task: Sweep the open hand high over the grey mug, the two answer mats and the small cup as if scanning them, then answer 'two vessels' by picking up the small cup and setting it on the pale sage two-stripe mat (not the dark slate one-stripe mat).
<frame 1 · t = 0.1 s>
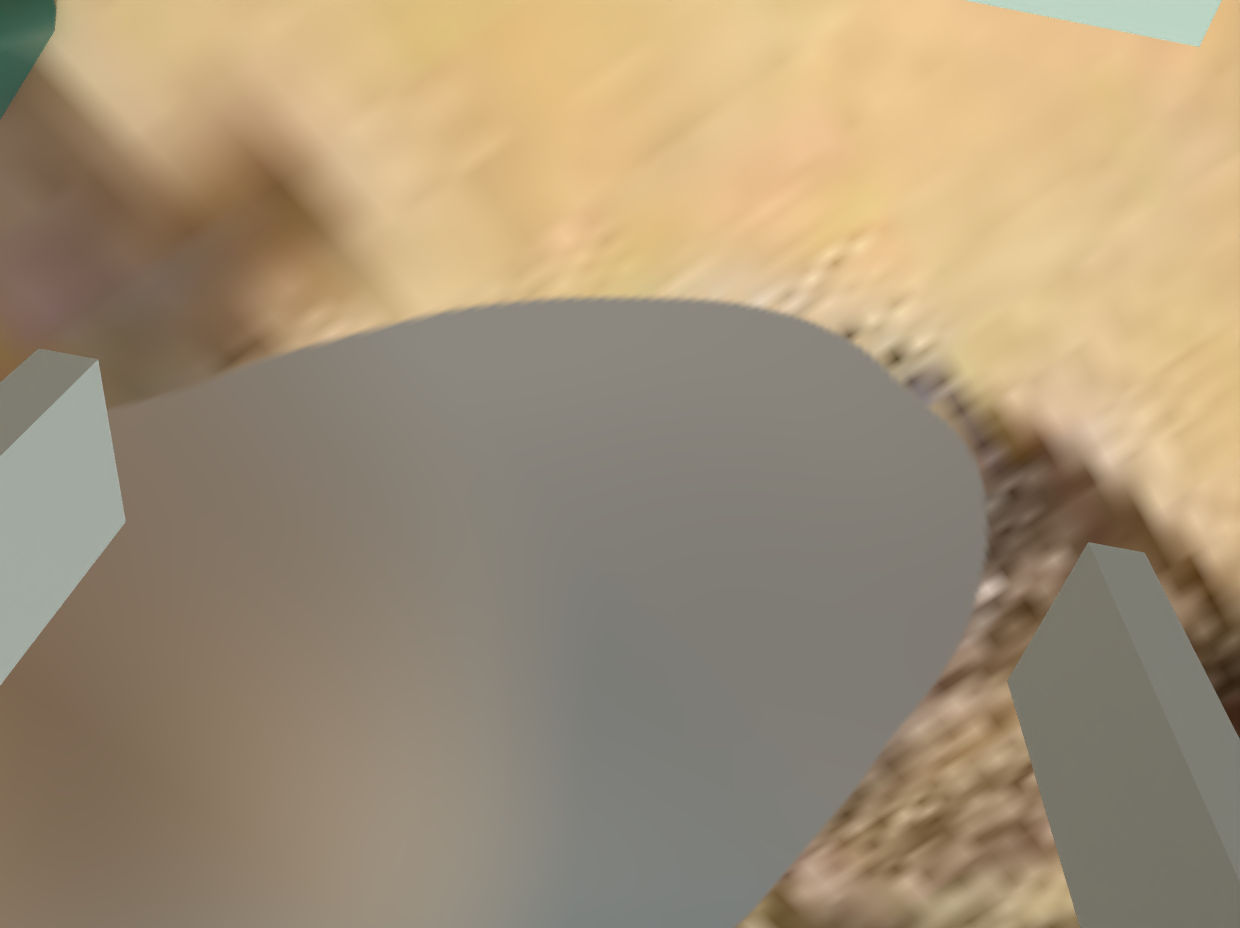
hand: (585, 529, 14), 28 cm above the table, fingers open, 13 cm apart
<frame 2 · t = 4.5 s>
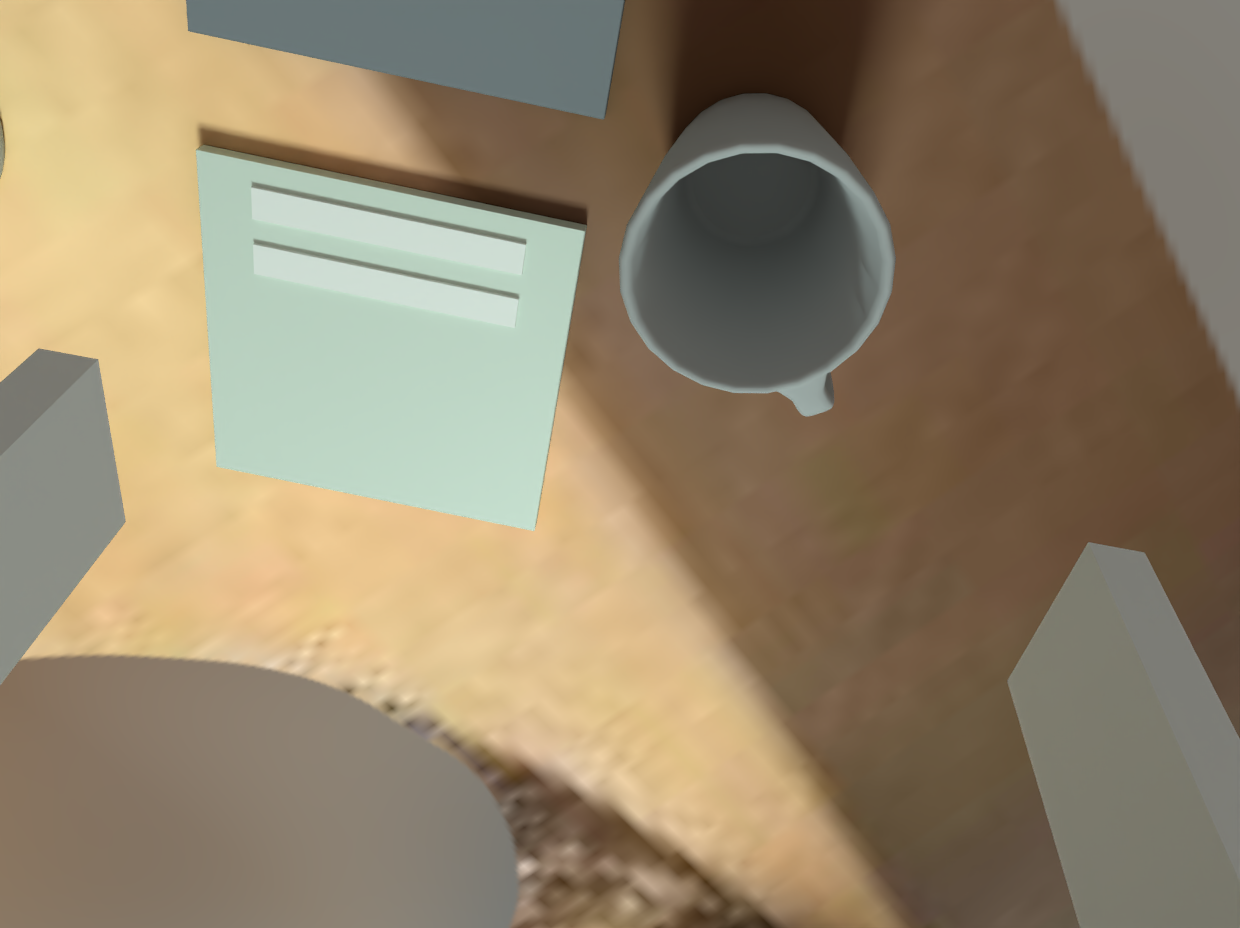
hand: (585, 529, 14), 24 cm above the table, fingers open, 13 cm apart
pad green: (387, 353, 40), on the table
cup: (763, 204, 36), on the table
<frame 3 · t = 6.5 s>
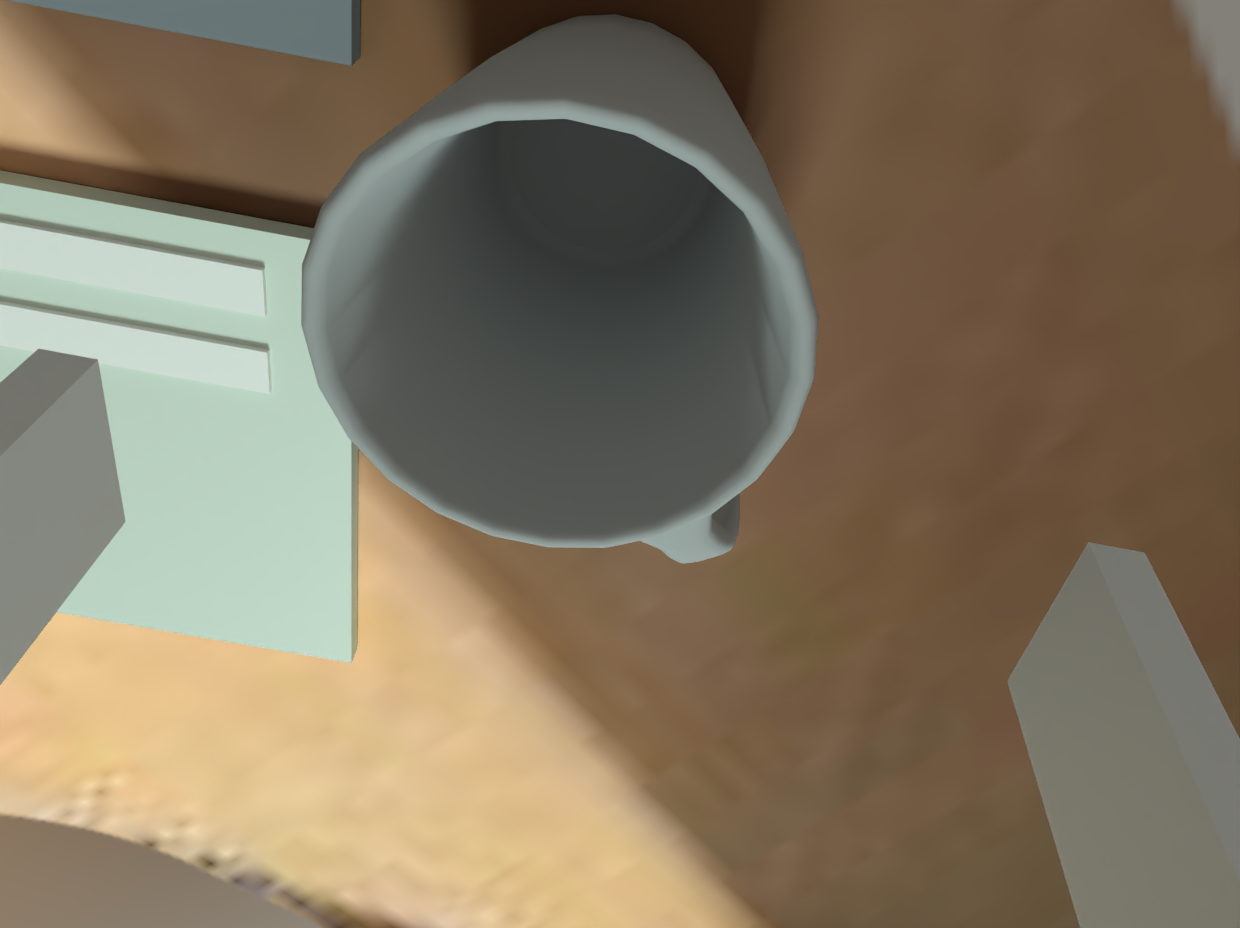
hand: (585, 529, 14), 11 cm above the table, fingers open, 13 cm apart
pad green: (99, 428, 27), on the table
cup: (631, 198, 22), on the table
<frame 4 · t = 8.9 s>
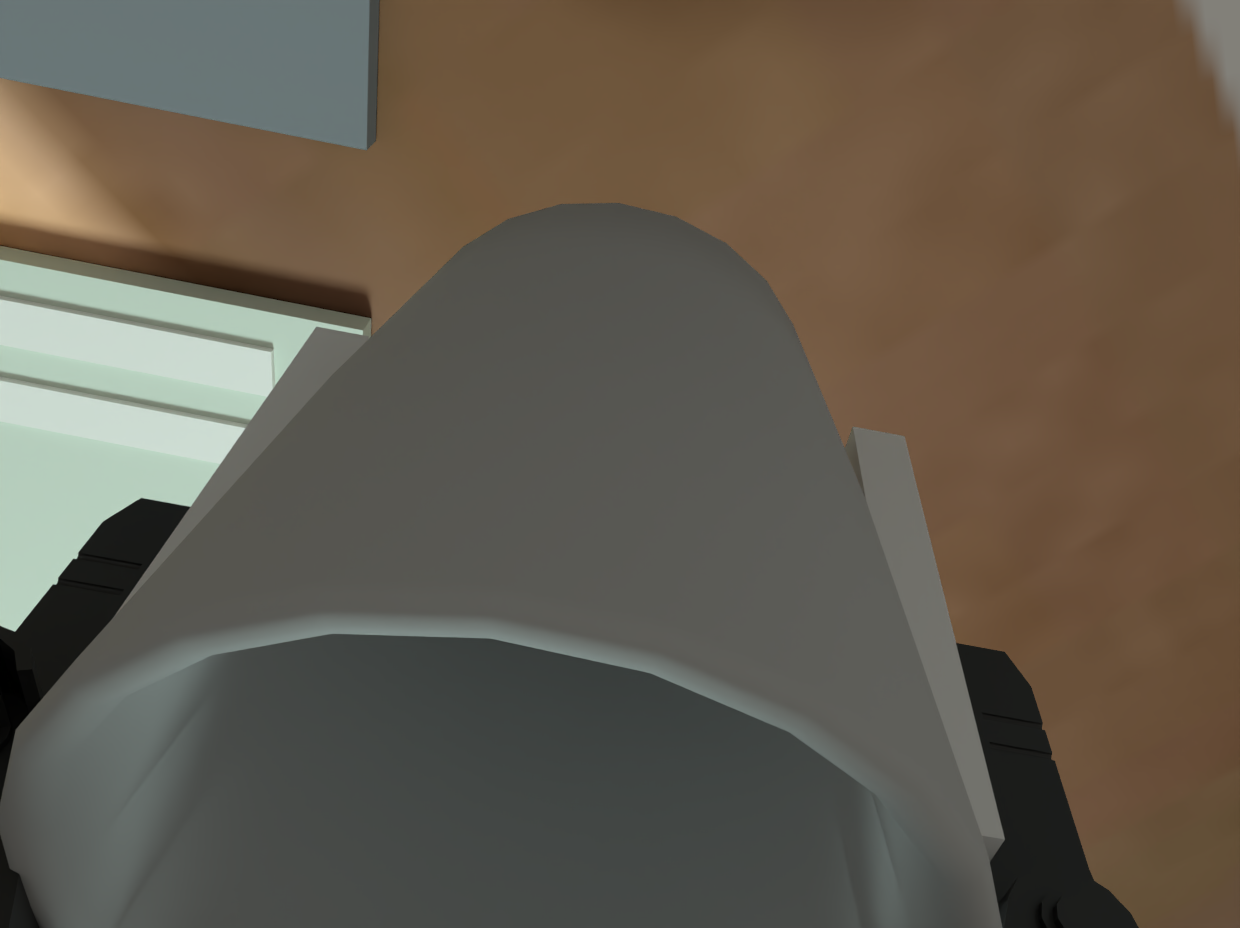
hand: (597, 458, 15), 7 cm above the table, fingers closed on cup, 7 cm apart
pad green: (102, 504, 26), on the table
cup: (641, 439, 15), point 7 cm above the table, touching gripper
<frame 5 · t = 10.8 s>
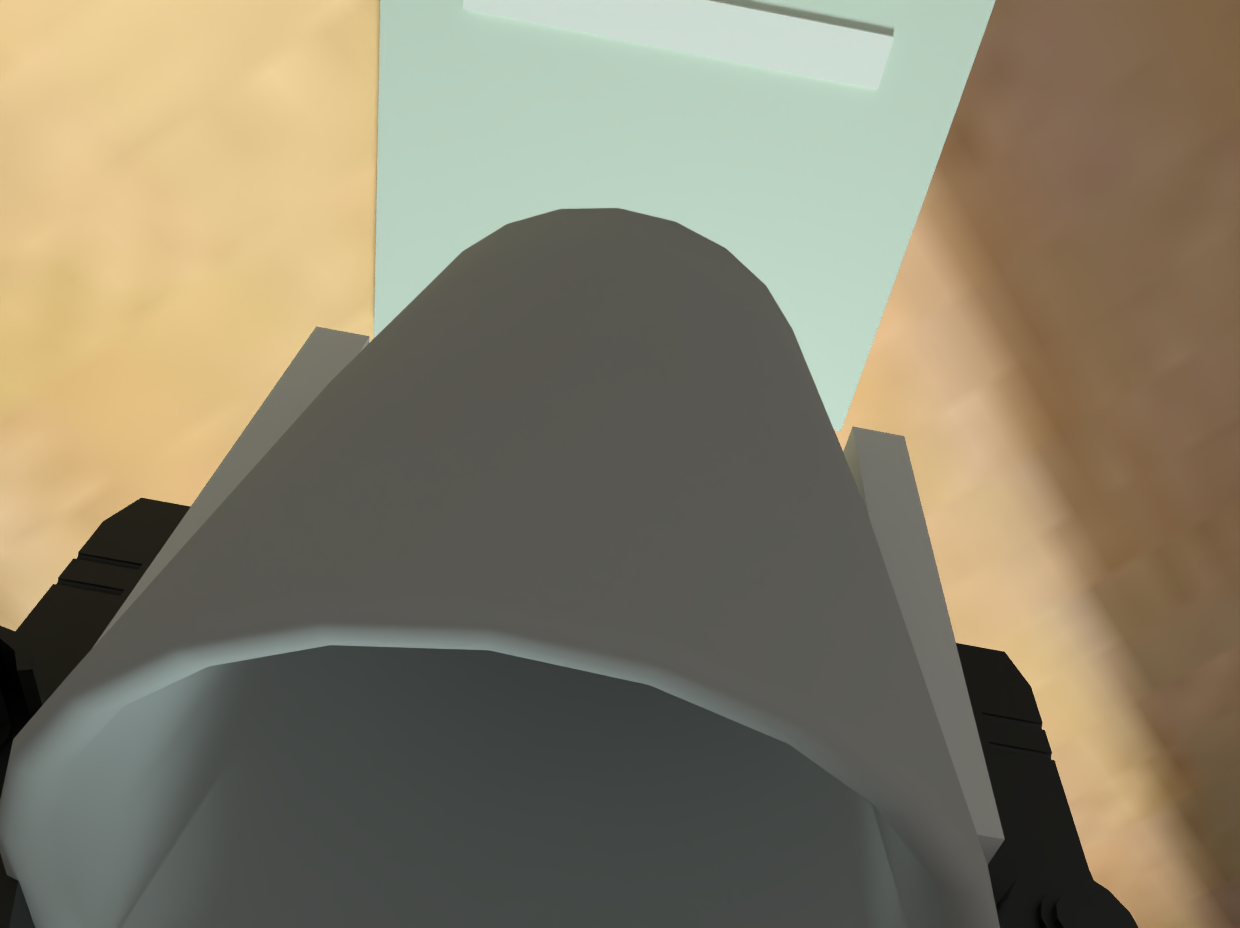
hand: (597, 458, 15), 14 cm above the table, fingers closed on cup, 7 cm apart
pad green: (652, 149, 26), on the table
cup: (640, 444, 15), point 13 cm above the table, touching gripper
when the fingers open (1 cm above the table, at t = 13.2 s): cup stays where it is, resting on pad green.
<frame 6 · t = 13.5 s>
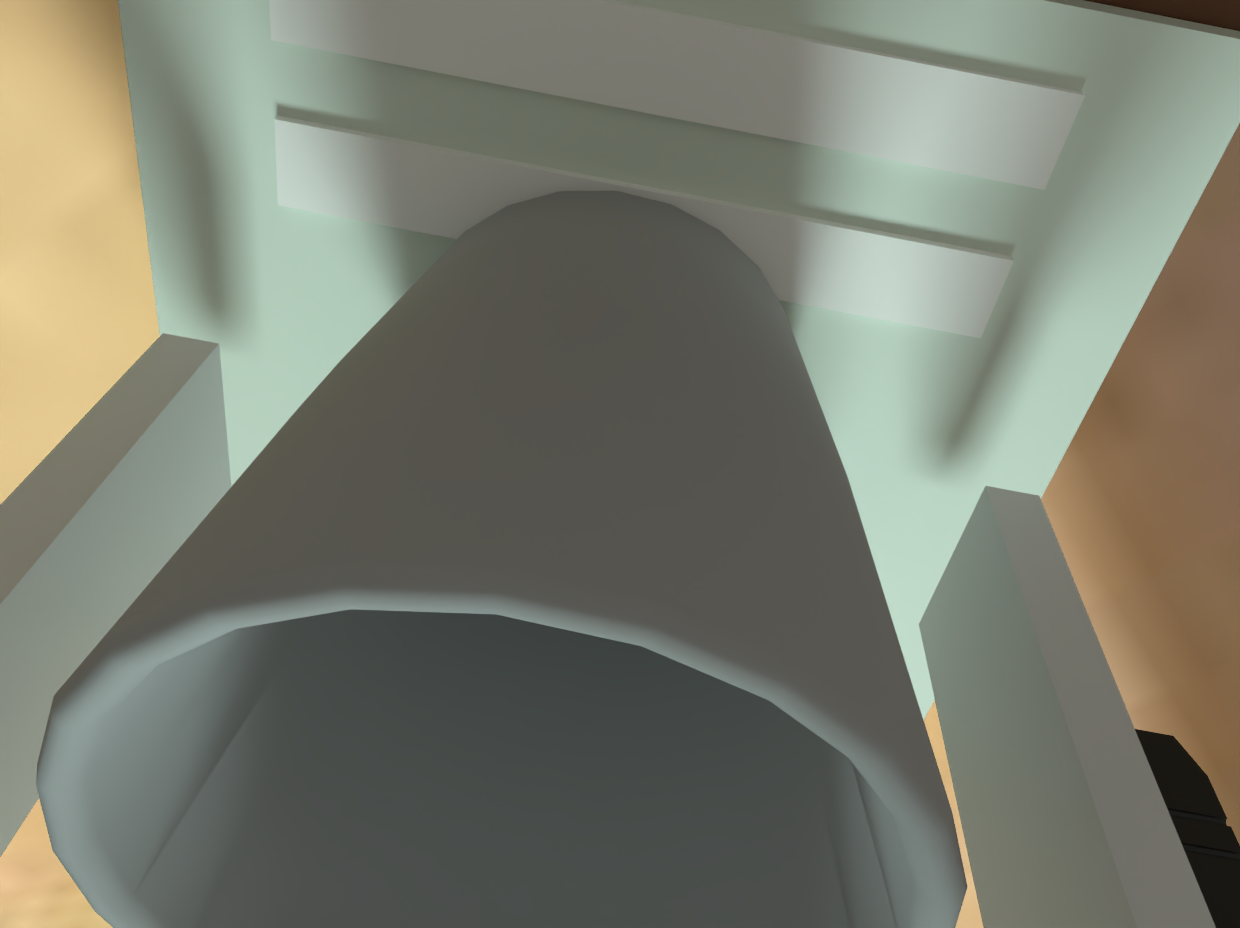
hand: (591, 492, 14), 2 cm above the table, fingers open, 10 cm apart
pad green: (607, 403, 16), on the table
cup: (636, 418, 16), resting on pad green
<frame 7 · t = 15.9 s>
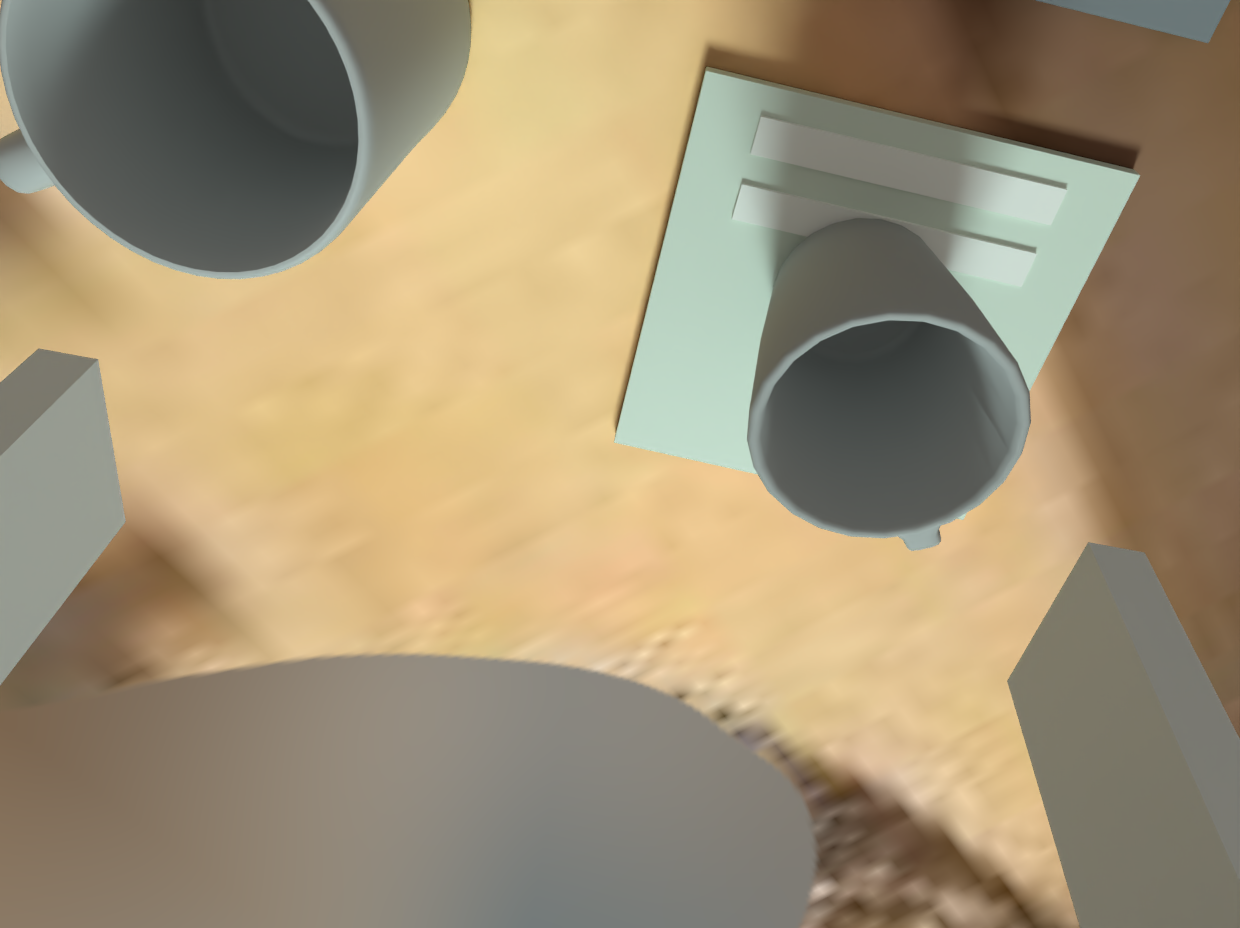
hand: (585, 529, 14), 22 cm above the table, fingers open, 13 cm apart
pad green: (848, 315, 36), on the table
mug: (294, 33, 32), on the table
cup: (864, 321, 35), resting on pad green
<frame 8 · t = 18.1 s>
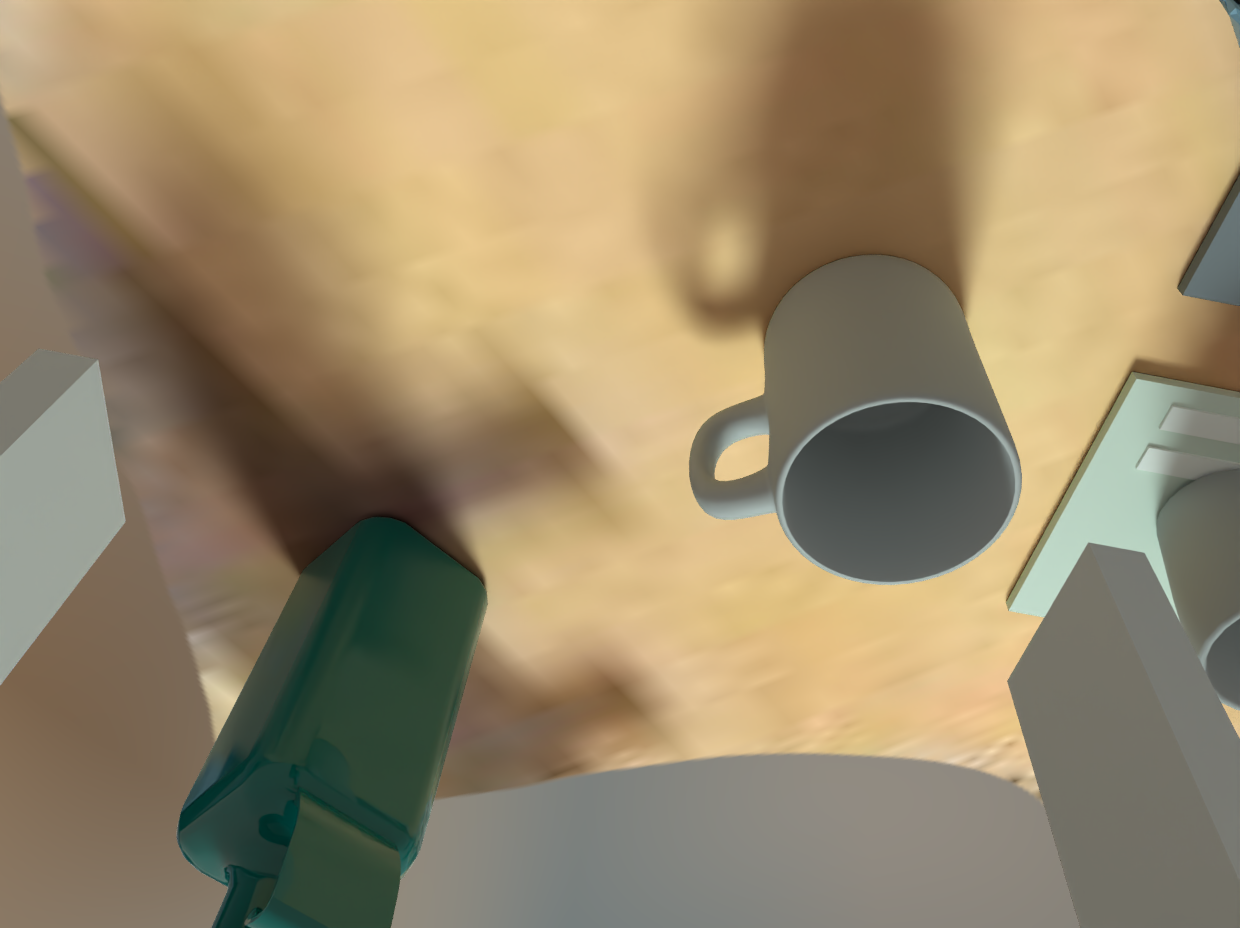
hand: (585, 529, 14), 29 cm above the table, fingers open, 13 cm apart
pad green: (1207, 523, 48), on the table
mug: (823, 353, 44), on the table
green bottle: (405, 576, 54), on the table
cup: (1222, 530, 47), resting on pad green
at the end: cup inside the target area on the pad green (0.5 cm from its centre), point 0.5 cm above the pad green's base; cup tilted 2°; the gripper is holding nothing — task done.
